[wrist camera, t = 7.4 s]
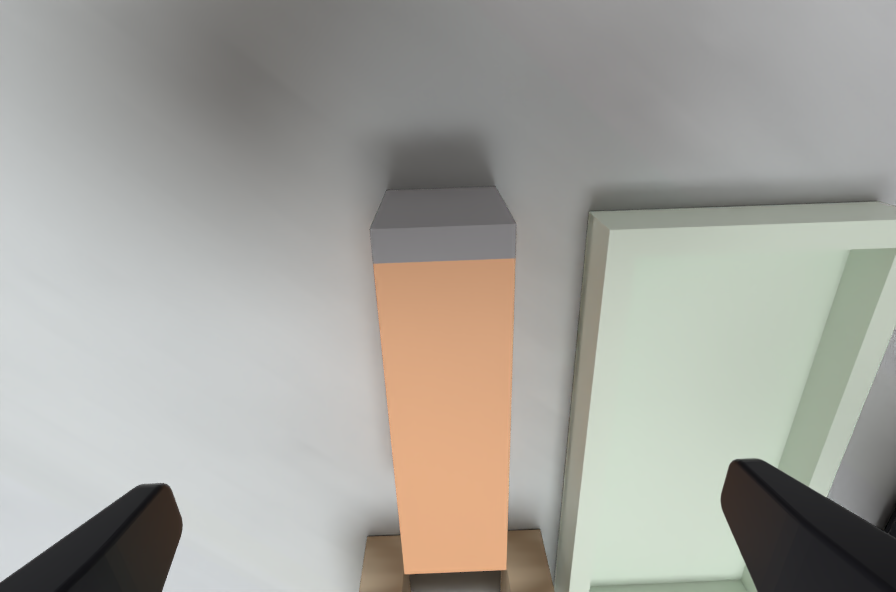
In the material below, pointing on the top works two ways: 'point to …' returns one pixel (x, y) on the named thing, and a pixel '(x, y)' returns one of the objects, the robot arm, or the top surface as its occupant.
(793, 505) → the robot arm
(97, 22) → the top surface
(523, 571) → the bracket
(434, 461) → the orange rectangular block
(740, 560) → the tray
